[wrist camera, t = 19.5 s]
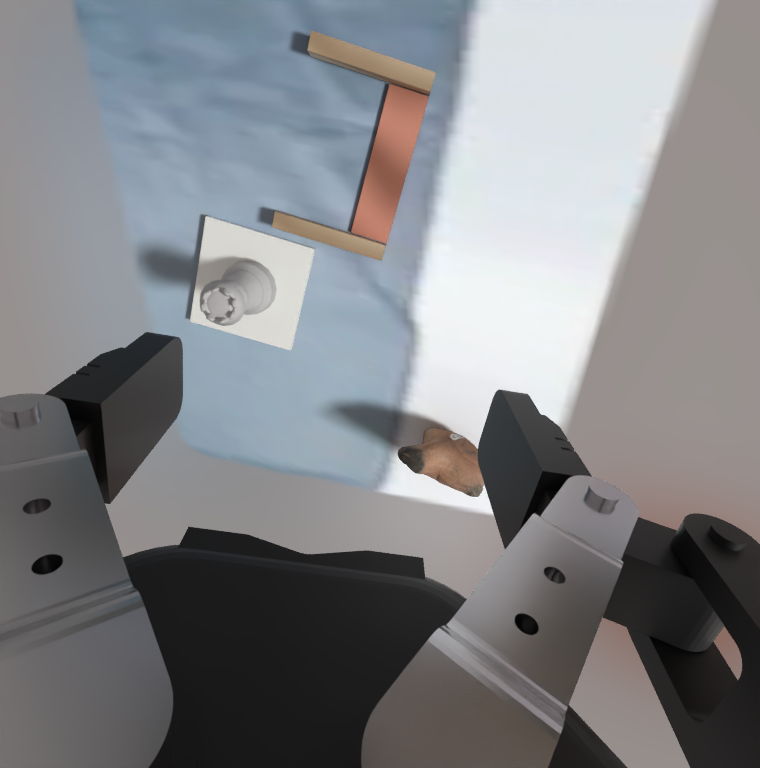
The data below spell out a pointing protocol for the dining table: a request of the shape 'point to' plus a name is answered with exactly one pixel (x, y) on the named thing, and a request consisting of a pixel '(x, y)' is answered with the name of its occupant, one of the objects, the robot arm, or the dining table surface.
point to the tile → (276, 254)
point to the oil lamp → (446, 460)
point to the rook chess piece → (238, 293)
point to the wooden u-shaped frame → (387, 152)
